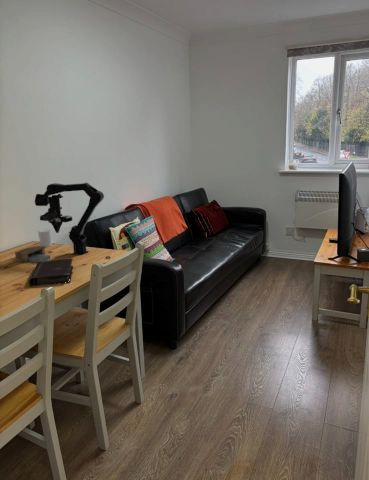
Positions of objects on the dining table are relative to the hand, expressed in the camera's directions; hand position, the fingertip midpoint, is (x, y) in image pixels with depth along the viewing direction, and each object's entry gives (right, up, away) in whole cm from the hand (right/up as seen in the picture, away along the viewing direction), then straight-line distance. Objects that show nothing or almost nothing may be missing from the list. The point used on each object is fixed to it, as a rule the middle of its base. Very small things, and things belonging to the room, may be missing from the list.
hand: (57, 232), depth 227 cm
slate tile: (-8, -15, -10) cm, 20 cm away
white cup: (-13, -8, +19) cm, 24 cm away
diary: (+10, -22, -36) cm, 43 cm away
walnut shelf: (-13, -14, -7) cm, 20 cm away
